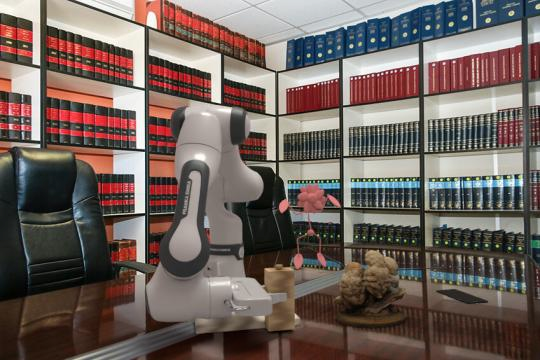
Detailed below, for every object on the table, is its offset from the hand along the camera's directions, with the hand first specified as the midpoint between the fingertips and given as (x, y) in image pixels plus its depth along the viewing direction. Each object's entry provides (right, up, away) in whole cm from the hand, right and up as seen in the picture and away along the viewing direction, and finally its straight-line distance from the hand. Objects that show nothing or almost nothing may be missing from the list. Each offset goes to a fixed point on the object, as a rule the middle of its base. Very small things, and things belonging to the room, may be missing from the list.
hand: (283, 293), depth 93 cm
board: (-9, -8, +5) cm, 13 cm away
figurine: (+14, -11, +73) cm, 75 cm away
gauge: (-2, -8, +3) cm, 9 cm away
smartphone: (+53, -9, +27) cm, 61 cm away
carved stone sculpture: (+22, -9, +7) cm, 24 cm away
